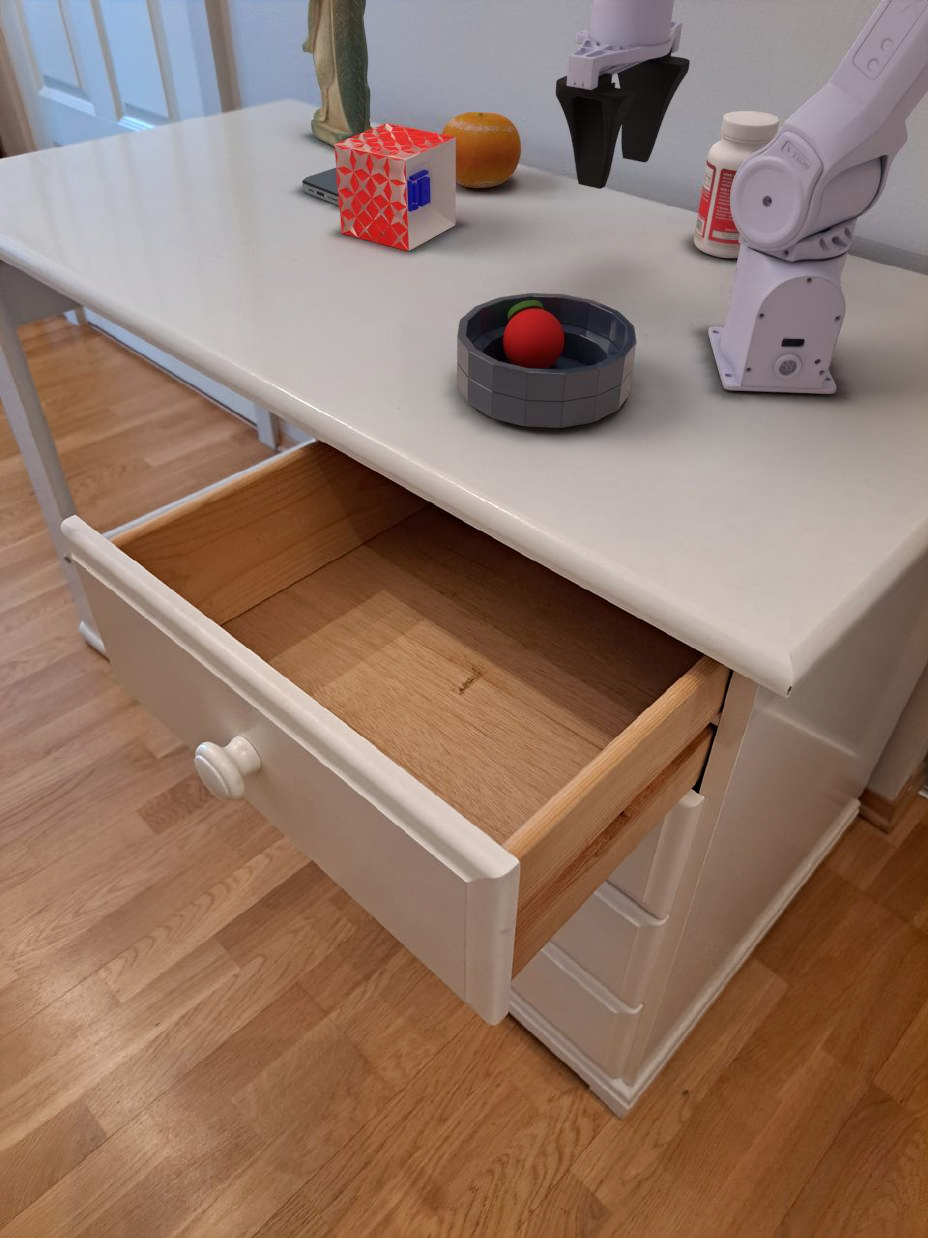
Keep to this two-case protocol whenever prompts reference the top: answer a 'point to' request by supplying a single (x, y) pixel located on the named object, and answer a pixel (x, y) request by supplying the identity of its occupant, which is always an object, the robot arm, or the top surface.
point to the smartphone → (323, 186)
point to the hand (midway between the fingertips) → (614, 171)
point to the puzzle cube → (396, 185)
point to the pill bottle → (728, 179)
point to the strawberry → (532, 336)
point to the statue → (339, 68)
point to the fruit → (484, 148)
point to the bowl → (564, 392)
